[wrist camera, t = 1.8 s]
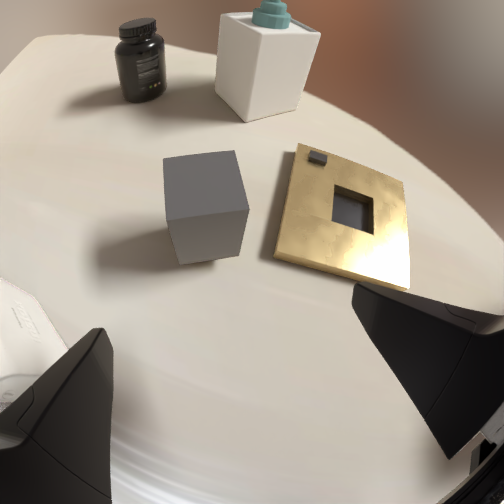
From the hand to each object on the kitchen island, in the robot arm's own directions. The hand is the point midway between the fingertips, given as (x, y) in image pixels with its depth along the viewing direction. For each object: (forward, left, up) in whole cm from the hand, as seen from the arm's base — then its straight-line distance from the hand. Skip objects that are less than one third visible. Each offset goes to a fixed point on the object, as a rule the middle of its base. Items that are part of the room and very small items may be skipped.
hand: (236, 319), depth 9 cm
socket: (+11, -14, -13) cm, 22 cm away
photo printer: (0, +17, -14) cm, 21 cm away
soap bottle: (+31, -7, -14) cm, 35 cm away
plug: (+9, +1, -13) cm, 16 cm away
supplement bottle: (+35, +9, -14) cm, 39 cm away
